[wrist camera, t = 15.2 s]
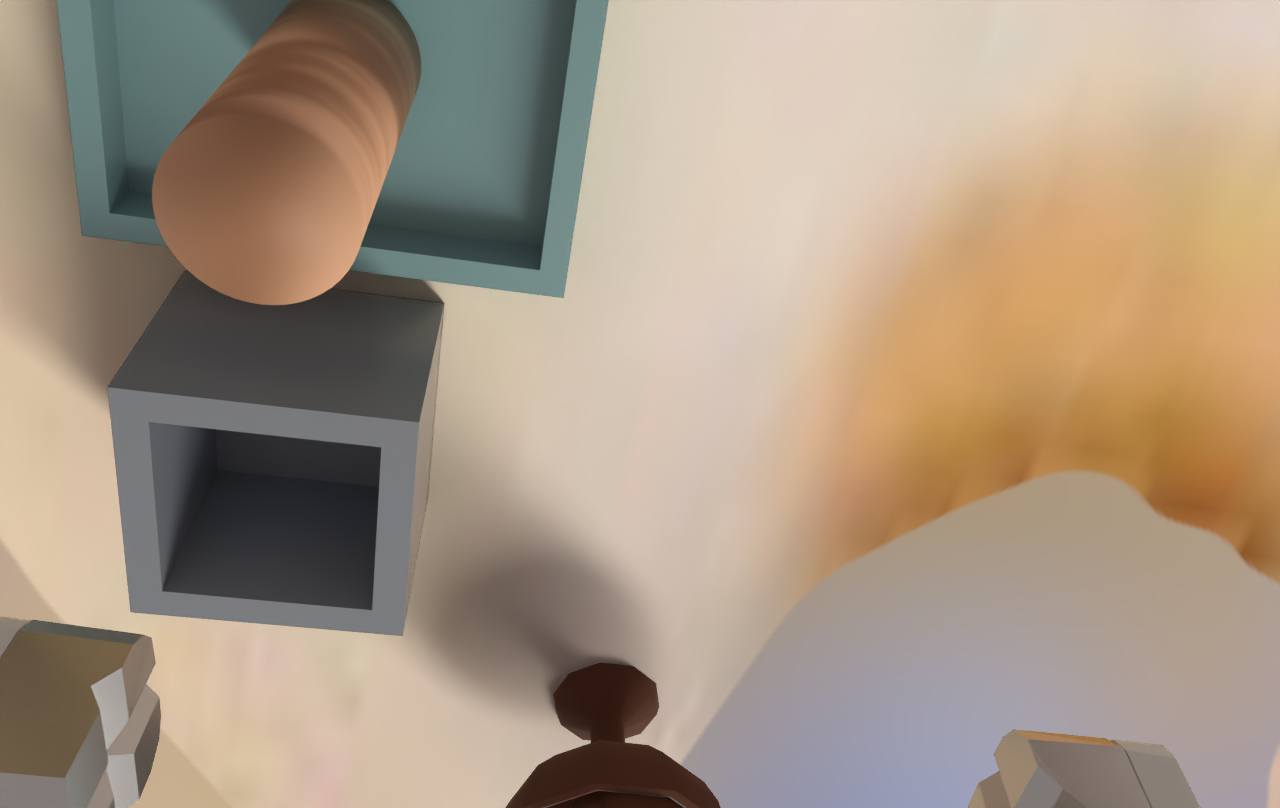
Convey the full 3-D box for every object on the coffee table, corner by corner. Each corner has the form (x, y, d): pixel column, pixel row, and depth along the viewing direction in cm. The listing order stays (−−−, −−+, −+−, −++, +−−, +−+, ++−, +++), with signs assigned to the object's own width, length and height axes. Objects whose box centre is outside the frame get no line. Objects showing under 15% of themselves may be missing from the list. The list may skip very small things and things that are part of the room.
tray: (621, -123, 36) (624, -108, 34) (564, 262, 44) (563, 297, 41) (73, -222, 34) (33, -214, 31) (111, 202, 41) (81, 235, 39)
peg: (425, -4, 37) (366, 131, 26) (417, 139, 40) (360, 316, 29) (271, -29, 36) (144, 100, 25) (273, 119, 39) (159, 292, 28)
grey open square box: (444, 303, 44) (419, 422, 37) (427, 499, 50) (402, 636, 43) (184, 270, 43) (107, 387, 36) (196, 475, 48) (130, 612, 41)
